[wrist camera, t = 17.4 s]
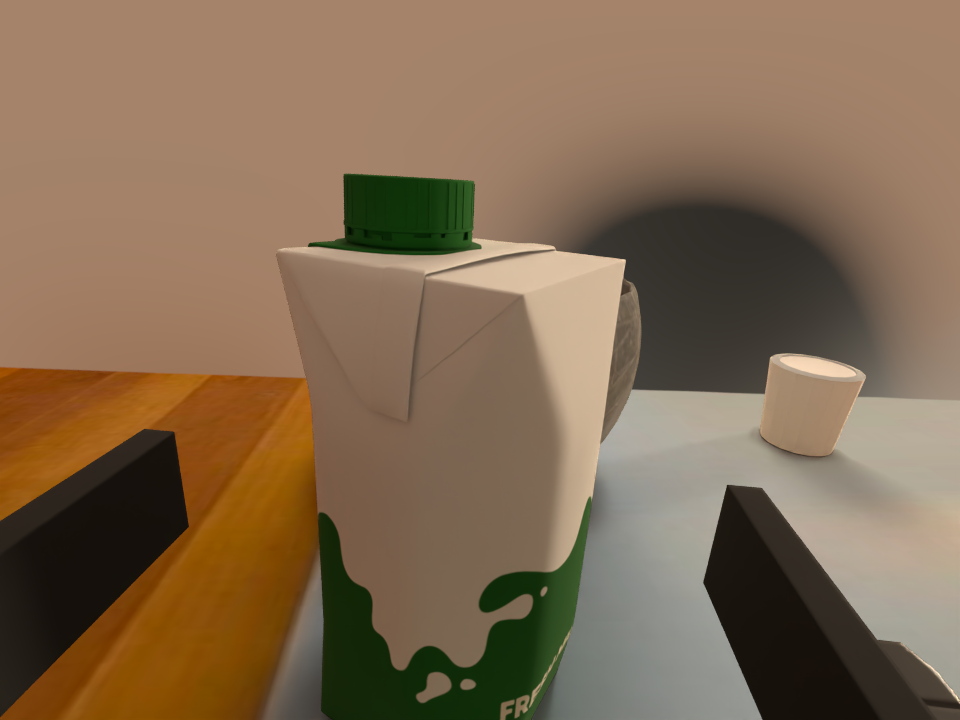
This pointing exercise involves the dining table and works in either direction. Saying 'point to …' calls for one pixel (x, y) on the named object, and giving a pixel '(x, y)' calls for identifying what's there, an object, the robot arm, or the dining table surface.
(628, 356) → the bowl
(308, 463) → the dining table surface
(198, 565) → the dining table surface
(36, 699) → the dining table surface
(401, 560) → the milk carton
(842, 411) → the beige tapered cylinder
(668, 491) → the dining table surface
